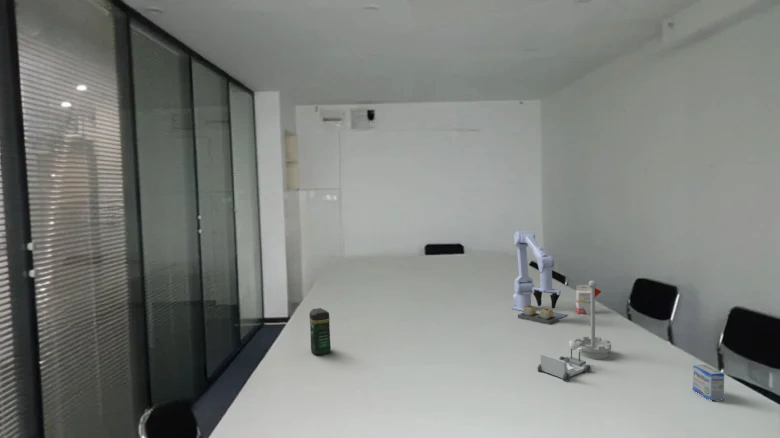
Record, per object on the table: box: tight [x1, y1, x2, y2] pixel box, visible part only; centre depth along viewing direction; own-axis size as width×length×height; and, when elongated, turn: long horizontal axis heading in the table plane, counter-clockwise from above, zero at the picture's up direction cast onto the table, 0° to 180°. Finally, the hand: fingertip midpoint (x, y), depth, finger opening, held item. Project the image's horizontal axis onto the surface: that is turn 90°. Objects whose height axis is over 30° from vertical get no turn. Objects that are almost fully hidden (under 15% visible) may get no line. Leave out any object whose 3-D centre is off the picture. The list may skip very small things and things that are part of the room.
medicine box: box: [692, 364, 725, 401], centre depth 146 cm, size 8×4×9 cm, turn 5°
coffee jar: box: [309, 307, 332, 355], centre depth 199 cm, size 10×8×19 cm
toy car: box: [537, 339, 592, 382], centre depth 170 cm, size 18×10×12 cm
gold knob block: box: [539, 307, 554, 320], centre depth 233 cm, size 4×5×6 cm
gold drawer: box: [523, 304, 537, 317], centre depth 240 cm, size 4×5×6 cm
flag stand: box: [575, 280, 612, 360], centre depth 185 cm, size 13×13×30 cm
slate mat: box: [553, 311, 568, 320], centre depth 242 cm, size 9×9×1 cm
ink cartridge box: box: [575, 284, 591, 315], centre depth 245 cm, size 9×5×15 cm, turn 84°
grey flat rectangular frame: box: [517, 312, 560, 325], centre depth 237 cm, size 18×9×2 cm, turn 42°
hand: (546, 306), depth 233 cm, fingers open, 7 cm apart
